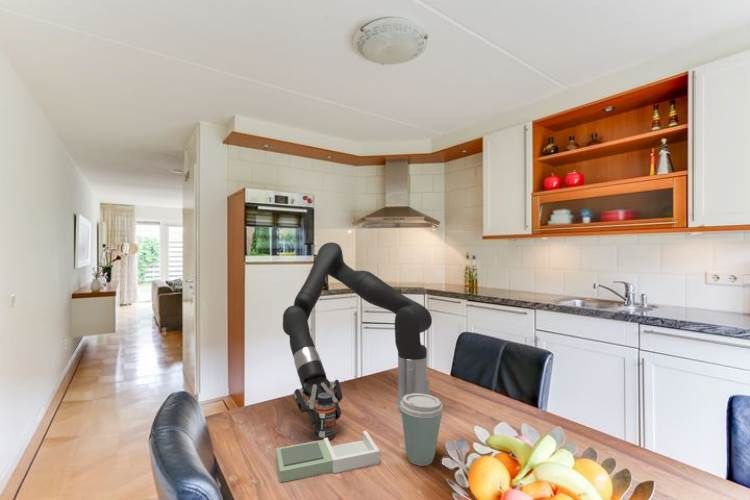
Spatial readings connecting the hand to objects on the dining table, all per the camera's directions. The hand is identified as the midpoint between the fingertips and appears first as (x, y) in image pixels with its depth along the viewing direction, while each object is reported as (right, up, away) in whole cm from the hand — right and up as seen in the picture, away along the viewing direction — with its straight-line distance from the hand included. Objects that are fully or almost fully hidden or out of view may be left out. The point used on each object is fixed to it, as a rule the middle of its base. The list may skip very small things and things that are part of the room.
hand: (327, 421), depth 100 cm
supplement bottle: (-1, -5, +1) cm, 5 cm away
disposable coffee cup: (+24, -5, -10) cm, 27 cm away
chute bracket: (+7, -5, -8) cm, 12 cm away
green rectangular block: (-4, -5, -12) cm, 14 cm away
